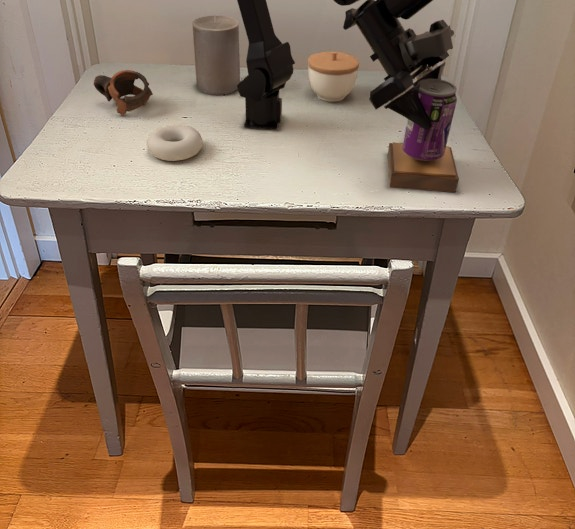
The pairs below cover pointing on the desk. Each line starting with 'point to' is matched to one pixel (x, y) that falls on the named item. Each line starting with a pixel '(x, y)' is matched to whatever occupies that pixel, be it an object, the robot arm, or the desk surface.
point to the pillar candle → (216, 54)
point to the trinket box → (332, 74)
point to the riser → (421, 171)
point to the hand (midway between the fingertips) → (437, 120)
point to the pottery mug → (124, 90)
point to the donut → (174, 142)
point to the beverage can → (440, 111)
